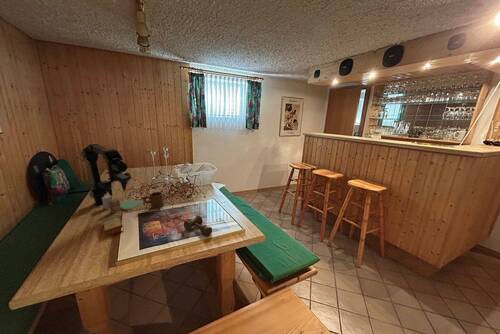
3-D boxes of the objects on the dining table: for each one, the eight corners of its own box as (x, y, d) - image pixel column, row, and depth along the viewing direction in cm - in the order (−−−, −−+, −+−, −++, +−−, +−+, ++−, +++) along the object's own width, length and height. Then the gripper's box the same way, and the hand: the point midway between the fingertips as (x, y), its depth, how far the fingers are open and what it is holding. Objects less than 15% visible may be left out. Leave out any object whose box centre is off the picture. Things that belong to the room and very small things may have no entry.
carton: (105, 237, 102) (104, 230, 101) (103, 224, 114) (102, 218, 112) (124, 231, 107) (122, 224, 106) (120, 219, 119) (118, 213, 118)
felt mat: (115, 206, 135) (114, 206, 134) (129, 199, 146) (129, 199, 146) (130, 209, 131) (130, 208, 131) (144, 201, 142) (144, 201, 142)
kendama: (202, 241, 99) (179, 226, 110) (216, 233, 106) (193, 220, 118) (201, 231, 97) (179, 217, 109) (216, 223, 105) (193, 211, 116)
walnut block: (111, 212, 127) (108, 201, 125) (116, 209, 130) (114, 198, 128) (115, 213, 126) (113, 202, 124) (121, 210, 129) (118, 199, 127)
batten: (113, 208, 132) (112, 206, 132) (114, 207, 133) (114, 206, 133) (126, 210, 129) (126, 209, 129) (128, 209, 130) (127, 208, 130)
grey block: (104, 208, 132) (101, 197, 130) (109, 205, 136) (107, 195, 134) (108, 209, 131) (106, 198, 129) (113, 206, 135) (111, 196, 133)
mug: (145, 211, 127) (143, 198, 125) (143, 207, 134) (141, 194, 131) (164, 207, 134) (162, 194, 131) (162, 203, 140) (160, 191, 137)
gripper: (109, 175, 109) (115, 200, 114) (136, 166, 127) (139, 188, 131) (94, 173, 112) (100, 198, 116) (122, 165, 129) (126, 187, 134)
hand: (118, 192), depth 124 cm, fingers open, 9 cm apart
